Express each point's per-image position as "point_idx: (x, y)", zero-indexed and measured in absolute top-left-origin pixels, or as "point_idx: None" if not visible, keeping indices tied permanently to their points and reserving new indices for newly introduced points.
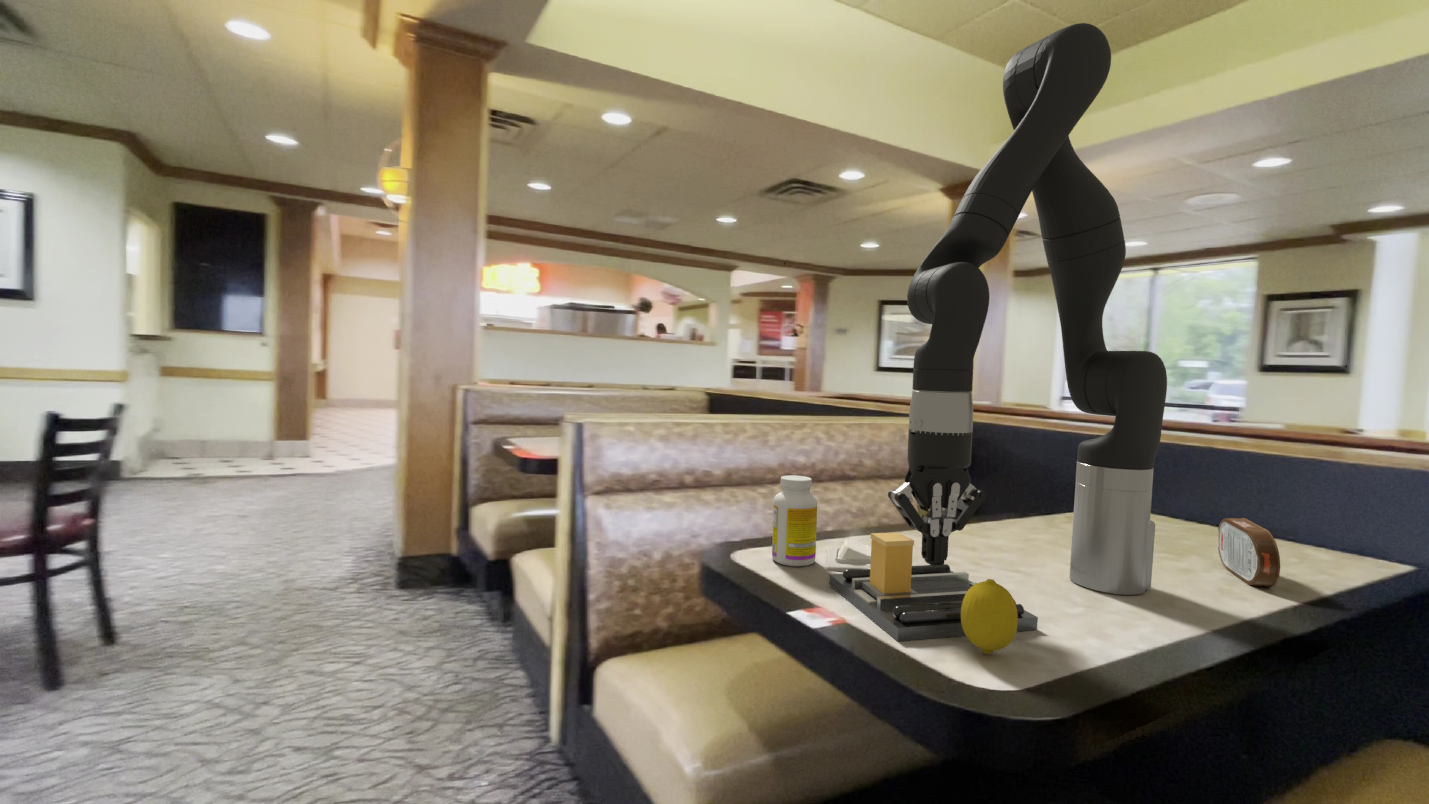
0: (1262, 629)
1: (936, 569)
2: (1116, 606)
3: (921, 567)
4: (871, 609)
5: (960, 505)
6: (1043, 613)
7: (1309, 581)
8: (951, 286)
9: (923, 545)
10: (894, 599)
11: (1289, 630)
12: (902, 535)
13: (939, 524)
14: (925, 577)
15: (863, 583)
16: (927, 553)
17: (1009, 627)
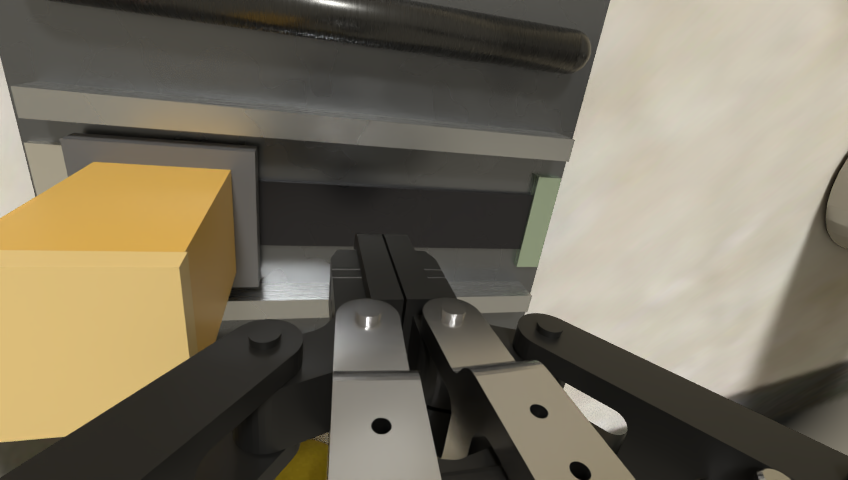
0: (818, 389)
1: (512, 63)
2: (757, 286)
3: (453, 45)
4: None
5: (651, 458)
6: (589, 295)
7: None
8: None
9: (332, 295)
10: None
11: (840, 394)
12: (173, 336)
13: (441, 377)
14: (394, 147)
15: (63, 148)
16: (329, 311)
17: None
